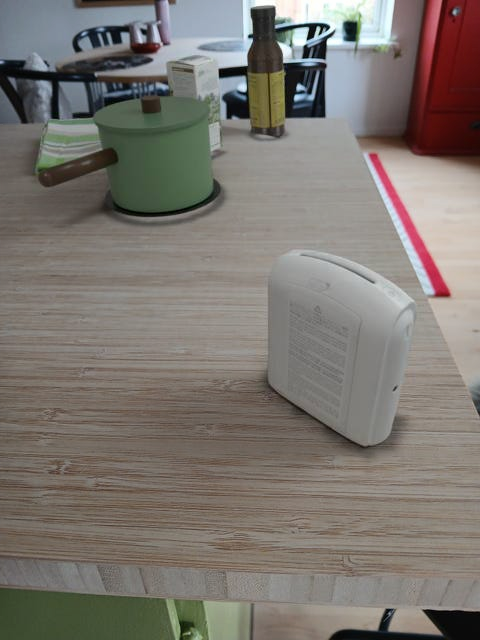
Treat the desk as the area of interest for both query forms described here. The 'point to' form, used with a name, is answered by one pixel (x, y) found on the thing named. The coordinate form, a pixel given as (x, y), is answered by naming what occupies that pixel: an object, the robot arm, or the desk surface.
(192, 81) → the syrup box
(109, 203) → the trivet
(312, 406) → the photo printer
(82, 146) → the dish towel
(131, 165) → the pot
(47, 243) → the desk surface
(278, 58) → the sauce bottle
